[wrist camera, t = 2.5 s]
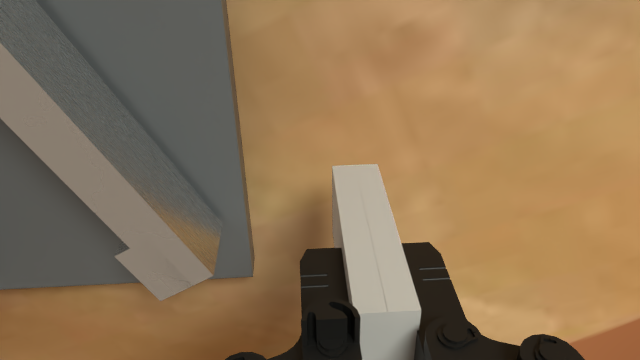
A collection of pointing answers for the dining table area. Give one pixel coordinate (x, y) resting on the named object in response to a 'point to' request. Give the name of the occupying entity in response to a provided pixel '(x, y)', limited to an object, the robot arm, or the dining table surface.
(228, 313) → the dining table surface
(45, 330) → the dining table surface
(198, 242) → the tongs jaw
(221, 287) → the dining table surface
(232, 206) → the board
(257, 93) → the dining table surface
